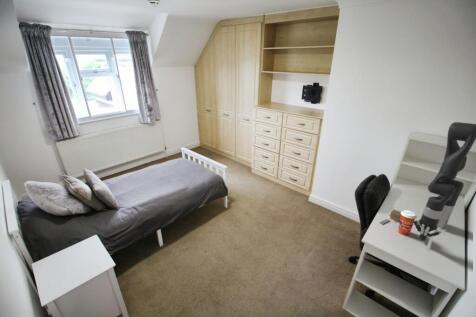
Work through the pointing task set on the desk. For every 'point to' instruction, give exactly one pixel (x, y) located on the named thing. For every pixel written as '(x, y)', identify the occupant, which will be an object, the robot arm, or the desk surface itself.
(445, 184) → the robot arm
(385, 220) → the slate strip
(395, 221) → the cork coaster
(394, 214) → the walnut block
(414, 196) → the desk surface
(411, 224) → the paper cup
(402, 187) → the desk surface
